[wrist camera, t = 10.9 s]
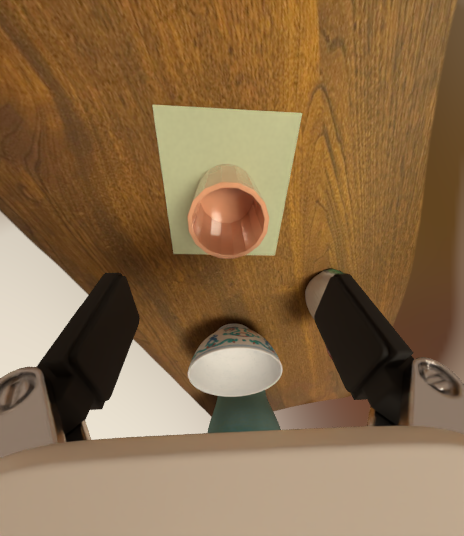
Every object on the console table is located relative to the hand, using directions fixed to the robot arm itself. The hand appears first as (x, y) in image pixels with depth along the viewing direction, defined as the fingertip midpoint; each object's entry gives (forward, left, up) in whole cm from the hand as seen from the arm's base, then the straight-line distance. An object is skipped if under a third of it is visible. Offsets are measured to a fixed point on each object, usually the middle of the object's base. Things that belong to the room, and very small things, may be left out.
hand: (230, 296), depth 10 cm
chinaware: (+26, +2, -18) cm, 32 cm away
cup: (0, 0, -17) cm, 17 cm away
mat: (0, 0, -17) cm, 17 cm away
